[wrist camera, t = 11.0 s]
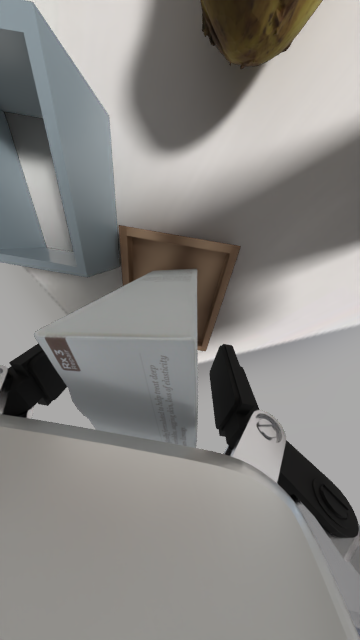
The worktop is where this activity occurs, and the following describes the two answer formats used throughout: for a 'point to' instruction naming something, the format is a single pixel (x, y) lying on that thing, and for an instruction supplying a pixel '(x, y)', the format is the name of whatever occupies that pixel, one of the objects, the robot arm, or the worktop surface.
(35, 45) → the grey open box frame
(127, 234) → the tray
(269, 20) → the potato
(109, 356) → the skincare box
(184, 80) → the worktop surface
